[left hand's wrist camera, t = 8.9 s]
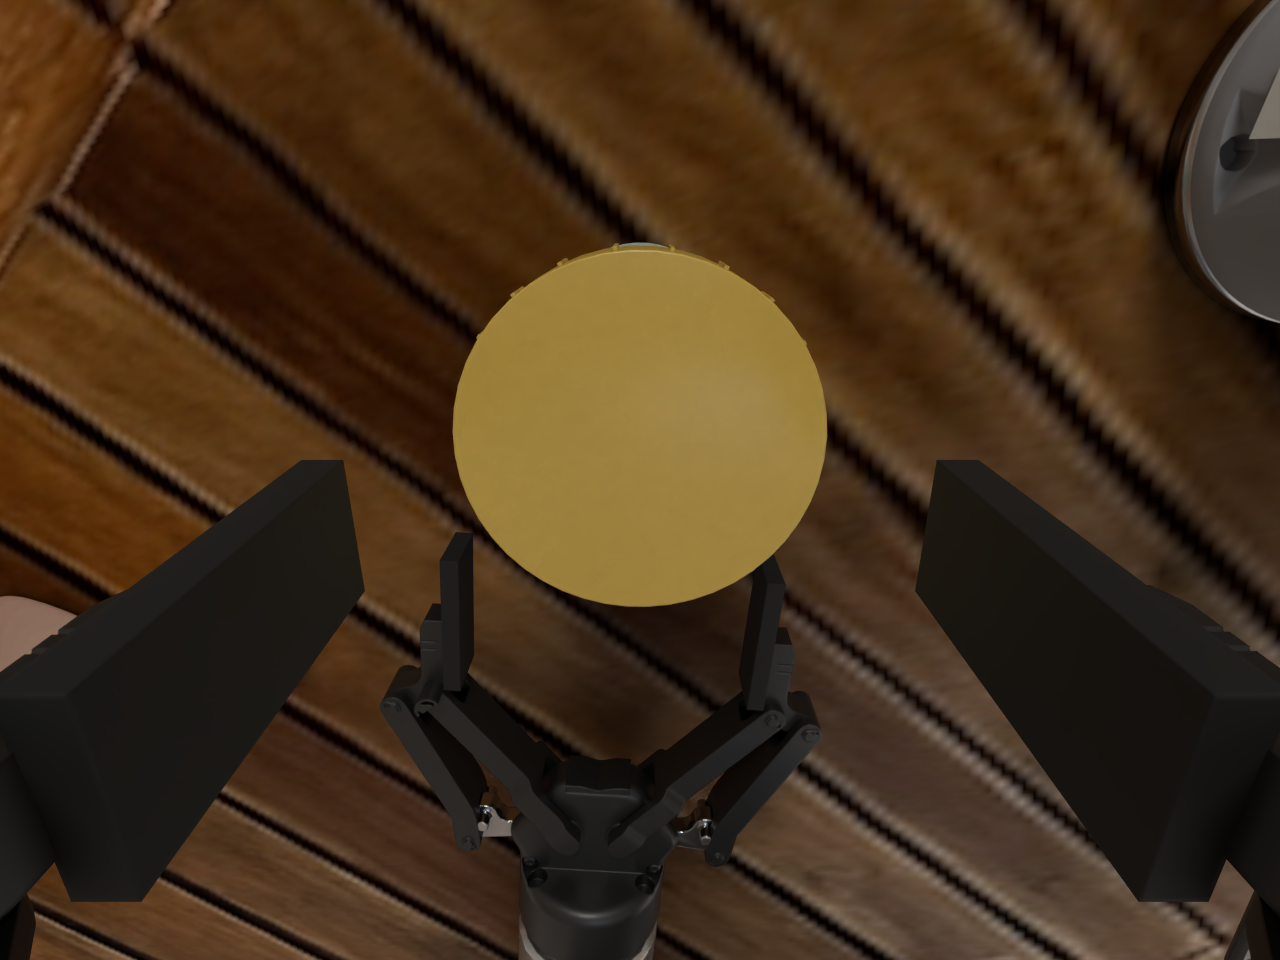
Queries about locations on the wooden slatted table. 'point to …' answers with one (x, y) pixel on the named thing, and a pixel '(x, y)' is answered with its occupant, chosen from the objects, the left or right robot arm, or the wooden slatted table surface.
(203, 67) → the wooden slatted table surface
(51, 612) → the anatomical model
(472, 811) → the right robot arm
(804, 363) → the lid
